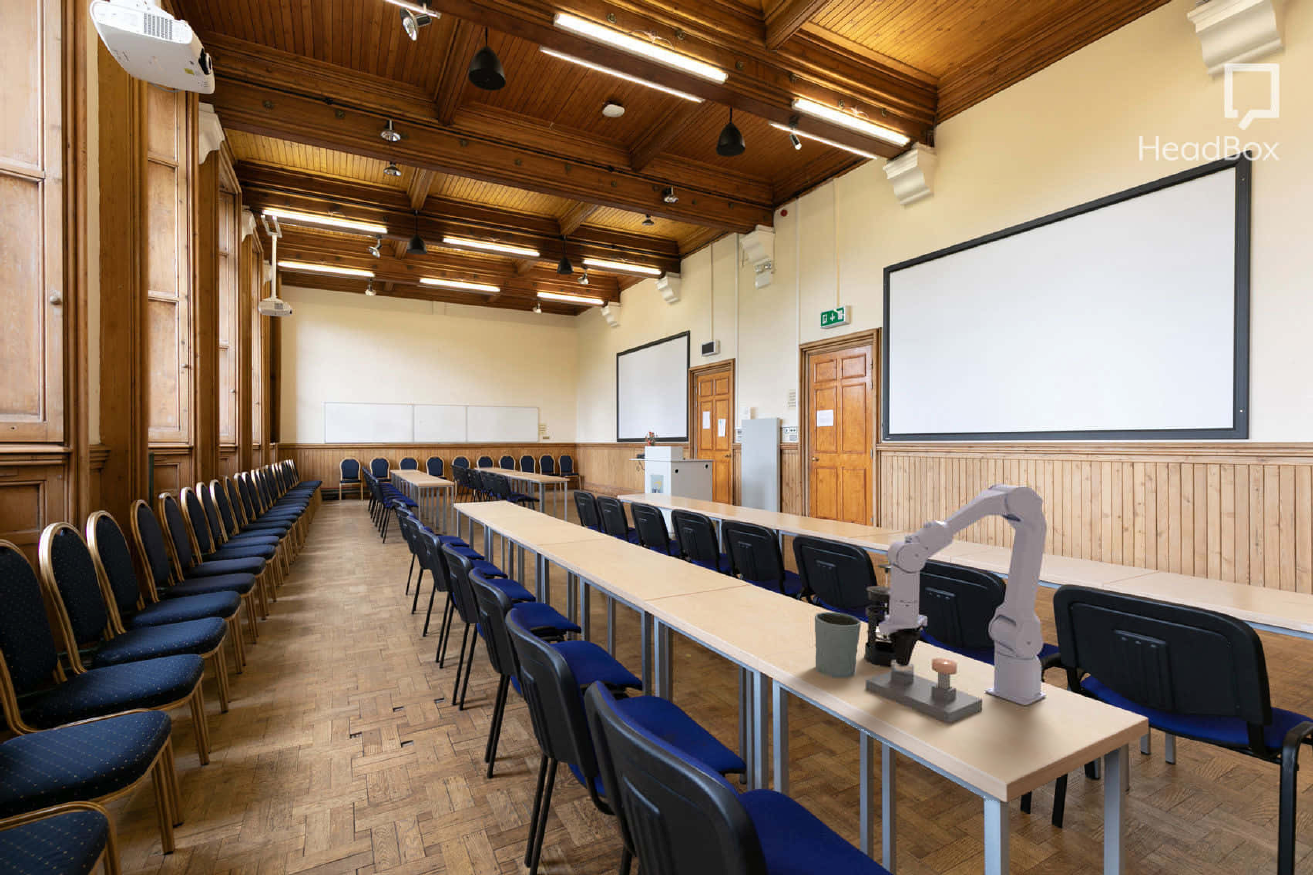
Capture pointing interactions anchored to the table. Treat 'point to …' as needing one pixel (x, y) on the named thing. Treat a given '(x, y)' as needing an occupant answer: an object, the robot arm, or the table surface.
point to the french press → (878, 650)
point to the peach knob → (944, 671)
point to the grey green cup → (836, 643)
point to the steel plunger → (902, 668)
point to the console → (925, 696)
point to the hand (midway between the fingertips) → (902, 663)
